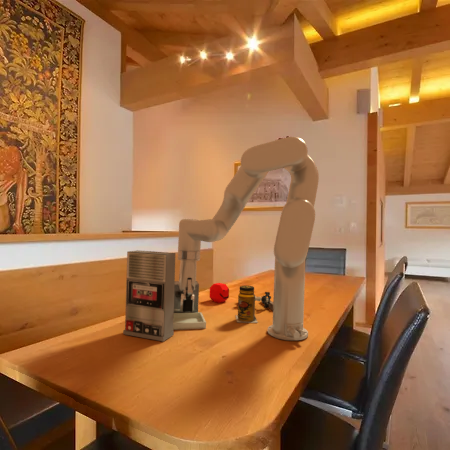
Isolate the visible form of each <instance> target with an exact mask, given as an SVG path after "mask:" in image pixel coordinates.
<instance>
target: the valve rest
mask: <svg viewBox="0 0 450 450" xmlns="http://www.w3.org/2000/svg"><path fill="white" fill-rule="evenodd" d="M260 297H261V298H262V297H263V295H262V296H260ZM270 301H271V302H270V303H269V308H268V309H269V310H271V311H272V312H273V301H272V300H271V299H270ZM260 302H261V304H263V302H262V301H261V300H260ZM266 303H268V302H266ZM264 305H265V304H263V306H264Z"/></svg>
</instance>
